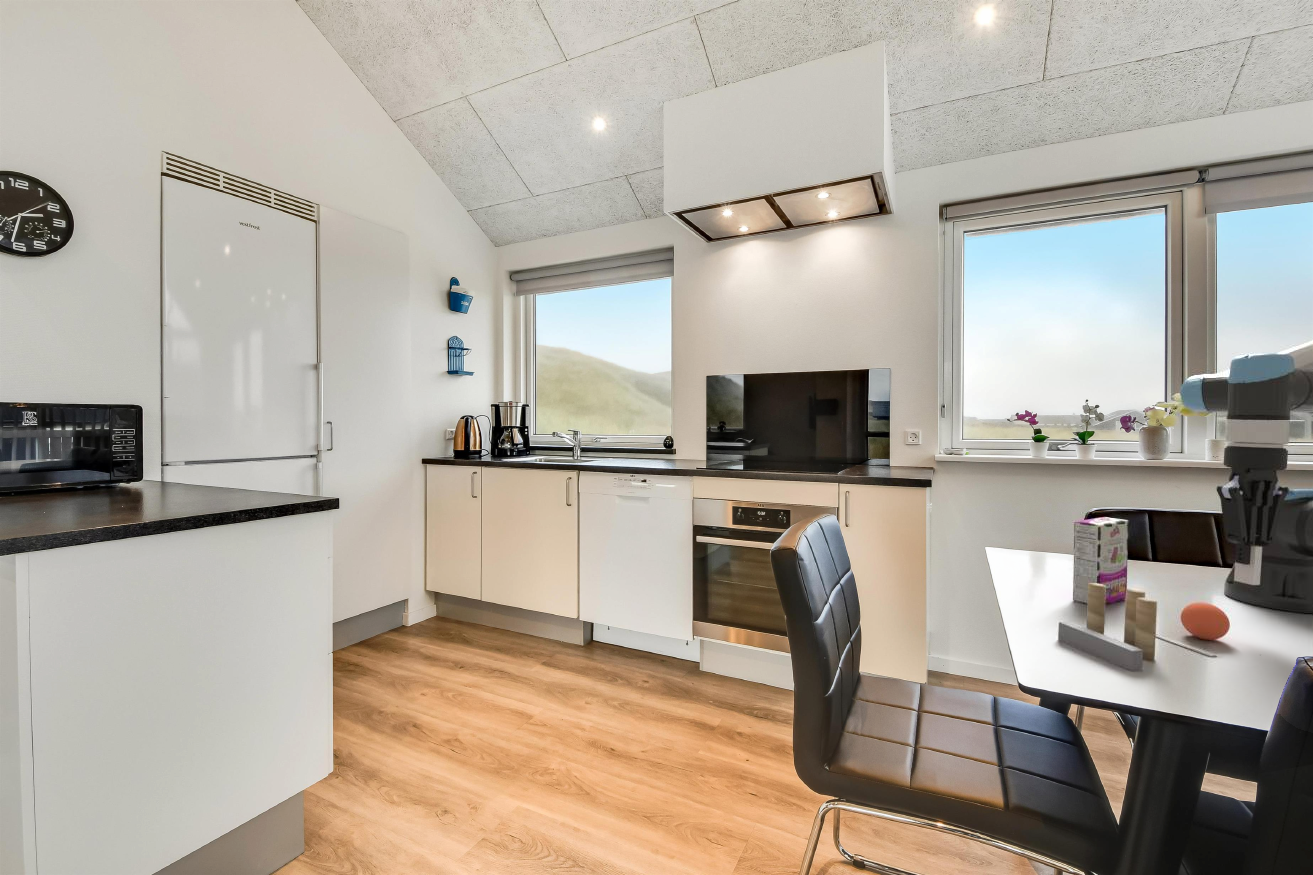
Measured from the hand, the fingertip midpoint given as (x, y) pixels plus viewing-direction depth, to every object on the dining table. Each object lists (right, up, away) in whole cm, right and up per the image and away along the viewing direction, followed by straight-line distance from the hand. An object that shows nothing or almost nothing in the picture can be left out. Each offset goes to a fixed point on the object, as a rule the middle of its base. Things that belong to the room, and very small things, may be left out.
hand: (1246, 582), depth 99 cm
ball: (-9, -6, -2) cm, 11 cm away
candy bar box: (-11, -8, +18) cm, 23 cm away
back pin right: (-27, -9, -2) cm, 29 cm away
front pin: (-24, -9, -5) cm, 26 cm away
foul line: (-16, -9, -3) cm, 18 cm away
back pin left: (-26, -9, -9) cm, 29 cm away
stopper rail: (-32, -9, -8) cm, 34 cm away
